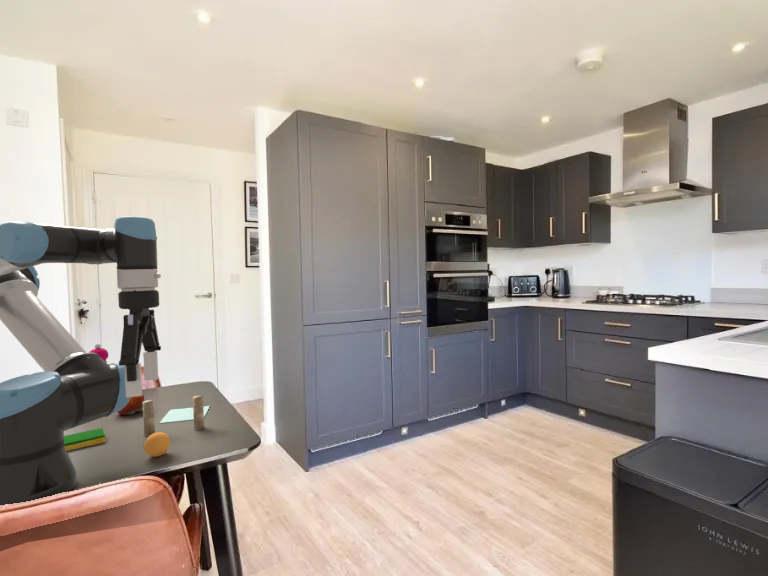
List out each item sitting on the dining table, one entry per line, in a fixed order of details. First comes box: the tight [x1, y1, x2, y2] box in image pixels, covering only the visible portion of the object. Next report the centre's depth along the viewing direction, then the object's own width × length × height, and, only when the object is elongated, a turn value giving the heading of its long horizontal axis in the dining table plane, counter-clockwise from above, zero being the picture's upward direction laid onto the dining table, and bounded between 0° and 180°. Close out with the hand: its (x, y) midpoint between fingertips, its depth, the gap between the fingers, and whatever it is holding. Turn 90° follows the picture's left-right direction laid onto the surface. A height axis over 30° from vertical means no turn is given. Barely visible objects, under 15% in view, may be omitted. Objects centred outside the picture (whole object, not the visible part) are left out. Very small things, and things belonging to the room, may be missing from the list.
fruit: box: [116, 393, 145, 416], centre depth 131 cm, size 8×8×8 cm
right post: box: [192, 394, 205, 431], centre depth 115 cm, size 3×3×9 cm
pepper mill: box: [88, 343, 109, 364], centre depth 146 cm, size 7×7×20 cm
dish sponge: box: [64, 427, 106, 452], centre depth 106 cm, size 7×14×2 cm, turn 128°
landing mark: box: [159, 405, 211, 424], centre depth 128 cm, size 12×12×1 cm
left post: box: [142, 399, 156, 437], centre depth 112 cm, size 3×3×9 cm
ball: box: [143, 431, 171, 458], centre depth 98 cm, size 6×6×6 cm
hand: (143, 387), depth 89 cm, fingers open, 13 cm apart
